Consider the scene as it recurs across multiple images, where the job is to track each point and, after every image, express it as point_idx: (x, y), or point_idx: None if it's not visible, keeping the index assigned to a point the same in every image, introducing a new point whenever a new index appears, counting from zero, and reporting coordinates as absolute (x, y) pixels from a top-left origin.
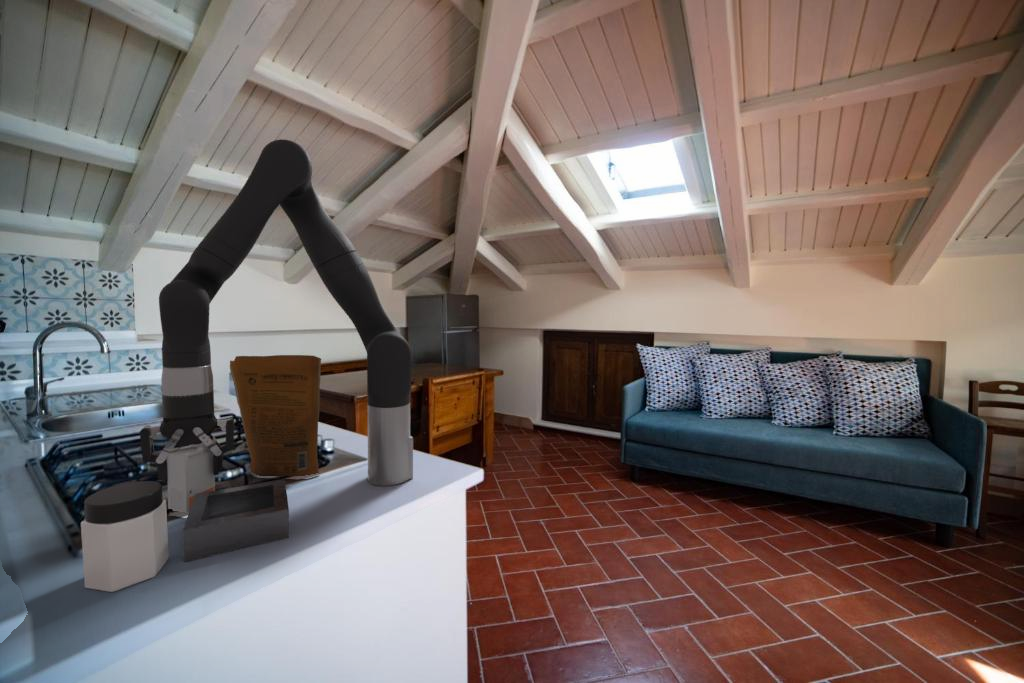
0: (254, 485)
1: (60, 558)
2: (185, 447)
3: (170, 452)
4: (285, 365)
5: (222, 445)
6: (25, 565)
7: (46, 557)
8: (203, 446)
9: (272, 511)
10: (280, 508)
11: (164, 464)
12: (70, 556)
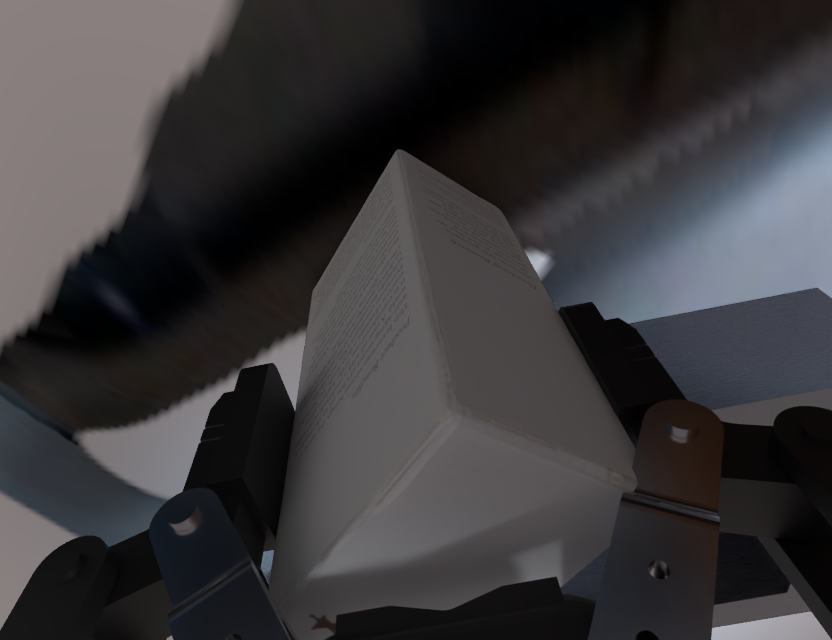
0: (759, 419)
1: (110, 493)
2: (379, 545)
3: (300, 637)
4: None
5: (743, 495)
6: (31, 507)
7: (53, 481)
8: (565, 546)
9: (771, 614)
10: (800, 603)
11: (267, 541)
12: (134, 489)
